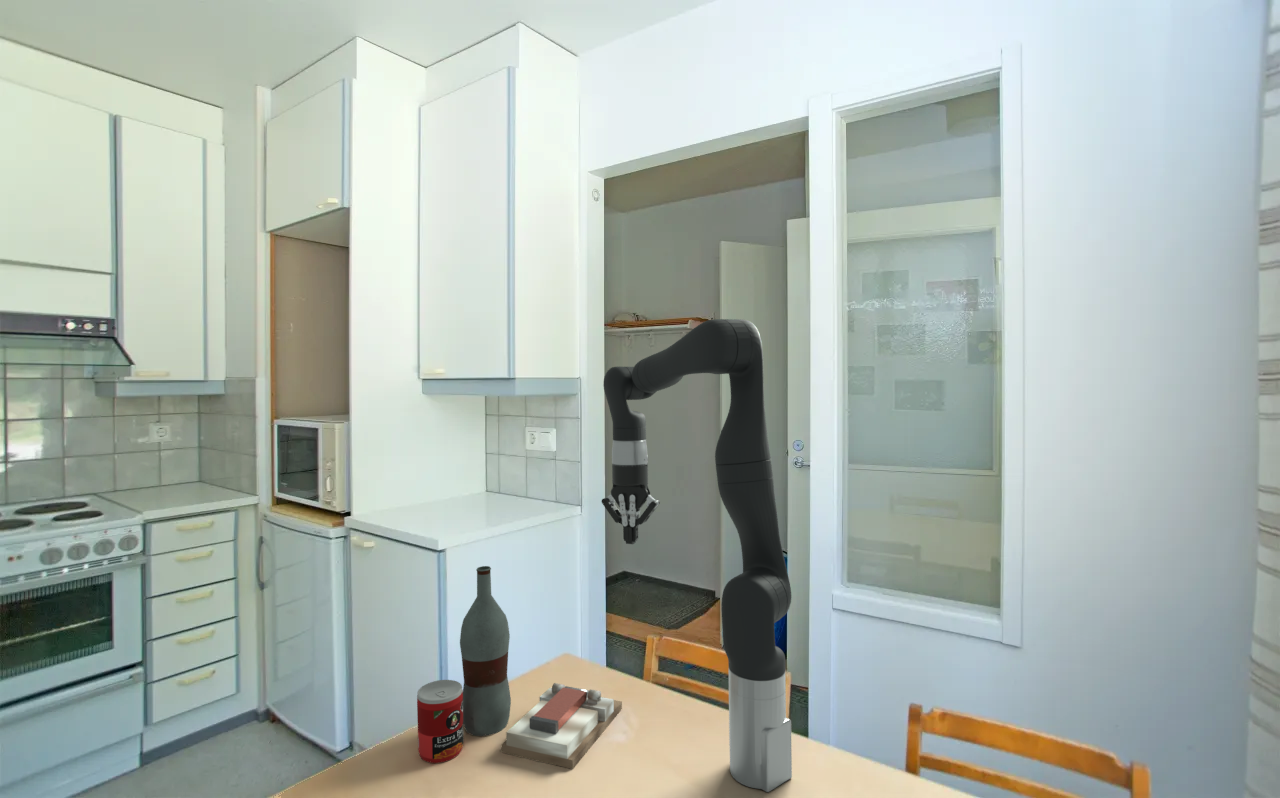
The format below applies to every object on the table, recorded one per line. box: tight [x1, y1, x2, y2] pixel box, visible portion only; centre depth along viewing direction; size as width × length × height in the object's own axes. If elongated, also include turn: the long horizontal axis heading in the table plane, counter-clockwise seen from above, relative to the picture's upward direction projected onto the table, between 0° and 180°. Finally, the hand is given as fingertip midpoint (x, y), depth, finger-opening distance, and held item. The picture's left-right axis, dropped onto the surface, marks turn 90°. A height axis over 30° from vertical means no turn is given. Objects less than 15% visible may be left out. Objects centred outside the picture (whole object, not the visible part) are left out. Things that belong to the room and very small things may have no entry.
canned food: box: [416, 679, 465, 764], centre depth 111 cm, size 8×8×11 cm
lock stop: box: [530, 685, 590, 734], centre depth 116 cm, size 2×5×14 cm
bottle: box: [459, 565, 512, 737], centre depth 119 cm, size 9×9×30 cm
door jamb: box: [501, 682, 623, 770], centre depth 117 cm, size 21×14×6 cm, turn 159°
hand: (631, 543), depth 132 cm, fingers closed
